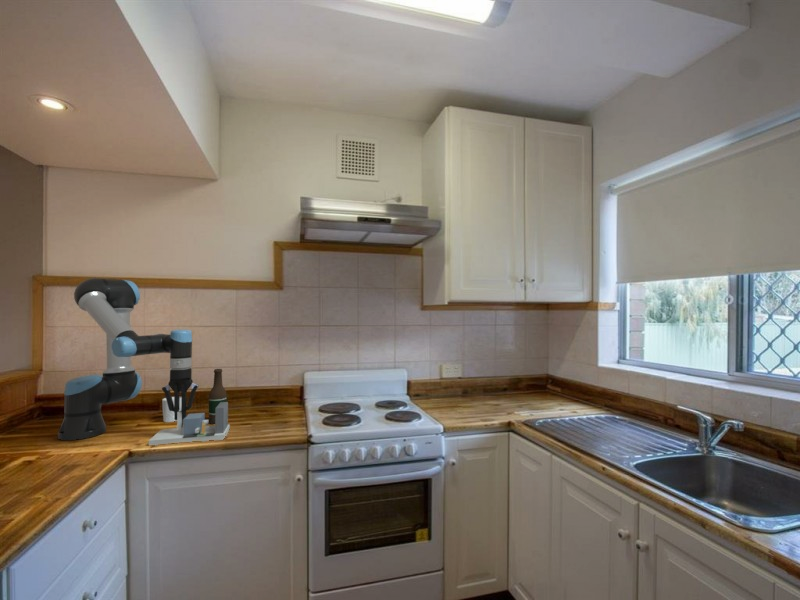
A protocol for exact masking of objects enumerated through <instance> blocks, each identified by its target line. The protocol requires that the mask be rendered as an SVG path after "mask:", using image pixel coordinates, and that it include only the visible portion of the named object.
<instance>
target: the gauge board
mask: <svg viewBox="0 0 800 600" xmlns="http://www.w3.org/2000/svg"><path fill="white" fill-rule="evenodd" d="M229 429H230V430H231V424H229V402H228V401H226V402H220V403H219V405H218V406H217V407H216V408H215V425H213V424H212V425H205V433H204V434H202V432H201V433H199V434H186V435H183V427H182V428H181V429H177V427H175V428H162V429H160V430H159V431H158V432H157V433H156V434H154V436H152V437H151V438H150V439H148V446H149V445H155V446H159V445H158V444H166V445H169V444H168V443H178V444H180V443H179V442H190V443H193V442H192V441H202V442H210V441H209V440H214V441H222V440H223V439H224V438H226V437H227V435H228V433H229V431H230V430H229ZM225 436H226V437H225ZM224 440H225V439H224ZM224 440H223V441H224Z"/></svg>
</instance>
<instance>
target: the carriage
mask: <svg viewBox="0 0 800 600" xmlns="http://www.w3.org/2000/svg"><path fill="white" fill-rule="evenodd" d="M203 423H205V426H209V425H210V424H209V419H206V413H205V412H198V413H197V412H196V413H188V414H186V417H185V418H184V419H183V427H182V428H183V435H186V434H199V433H201V432H202V424H203Z"/></svg>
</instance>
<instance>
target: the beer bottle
mask: <svg viewBox="0 0 800 600" xmlns="http://www.w3.org/2000/svg"><path fill="white" fill-rule="evenodd" d="M213 373H214V375H213V385H212V388H211V390H210V391H209V395H208V420H209V424H208V425H213V424H215V408H216V407H217V406H218V405H219V403H220V402H228V401H227V391H226V389H225V387H224V385H223V374H222V373H223V369H222V368H215V369H213Z"/></svg>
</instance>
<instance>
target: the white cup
mask: <svg viewBox="0 0 800 600" xmlns="http://www.w3.org/2000/svg"><path fill="white" fill-rule="evenodd" d="M171 397H172V400H173V404H174V396H171ZM161 402H162V416H163V417H162V419H163V422H165V423H173V422H174V421H175V422H177V420H175V419H174V418H175V413H174V411H170V410H169V407H168V404H167V400H166V397H164V398H162V401H161ZM181 406H182V396H180V401H179V409H180V410H179V411H181Z"/></svg>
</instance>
